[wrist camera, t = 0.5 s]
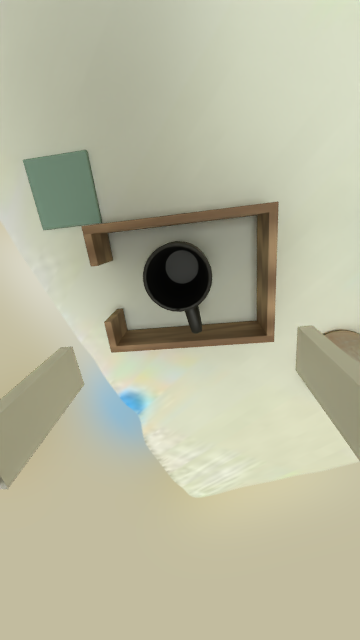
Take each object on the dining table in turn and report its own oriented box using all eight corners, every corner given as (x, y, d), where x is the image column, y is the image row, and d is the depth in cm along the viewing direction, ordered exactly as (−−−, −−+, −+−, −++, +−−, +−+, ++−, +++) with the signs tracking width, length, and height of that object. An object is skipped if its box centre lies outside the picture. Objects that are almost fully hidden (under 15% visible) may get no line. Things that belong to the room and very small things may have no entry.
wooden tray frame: (99, 226, 35) (81, 226, 30) (264, 206, 33) (278, 201, 27) (122, 336, 42) (111, 352, 36) (263, 325, 39) (274, 341, 34)
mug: (172, 319, 40) (165, 345, 31) (148, 248, 36) (132, 255, 27) (220, 306, 39) (227, 329, 30) (200, 231, 35) (201, 232, 26)
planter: (305, 329, 39) (337, 359, 30) (375, 327, 38) (430, 357, 29) (297, 384, 43) (324, 425, 34) (361, 384, 42) (405, 426, 33)
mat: (25, 161, 33) (22, 159, 32) (87, 151, 32) (85, 150, 32) (45, 229, 36) (43, 229, 36) (102, 222, 35) (100, 222, 35)
